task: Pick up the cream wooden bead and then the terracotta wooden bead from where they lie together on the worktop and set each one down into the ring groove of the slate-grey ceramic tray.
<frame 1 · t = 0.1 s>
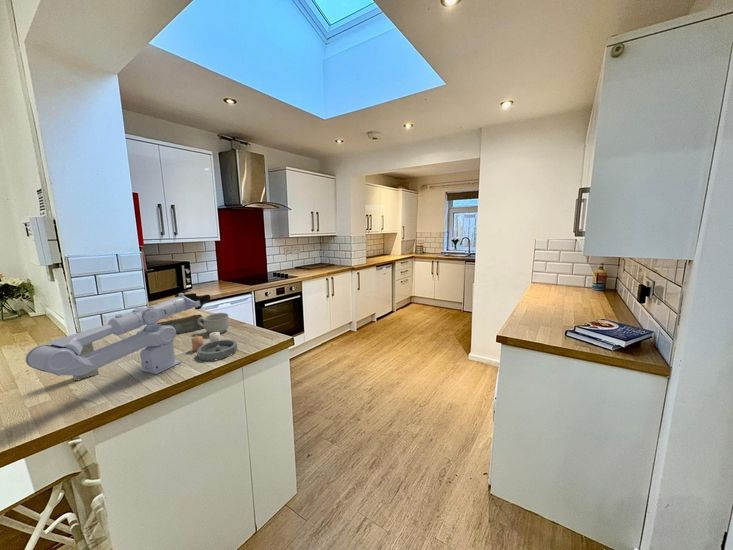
hand: (202, 296, 121), 22 cm above the counter, tool horizontal, fingers open, 7 cm apart
bead terracotta: (198, 349, 121), on the counter
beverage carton: (182, 332, 144), on the counter
bead cream: (215, 344, 125), on the counter
teacup: (214, 332, 141), on the counter
groove tray: (218, 352, 117), on the counter
skincare box: (86, 376, 101), on the counter
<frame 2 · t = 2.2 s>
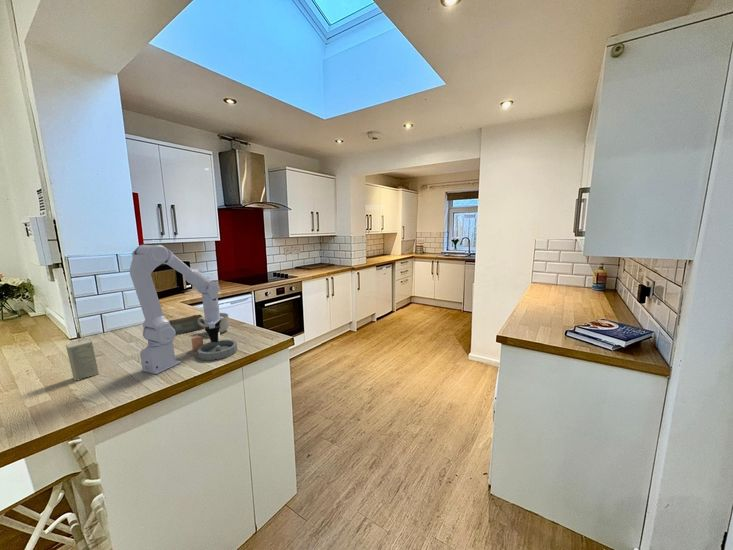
hand: (215, 339, 125), 2 cm above the counter, tool pointing down, fingers open, 7 cm apart
nothing on the counter moved.
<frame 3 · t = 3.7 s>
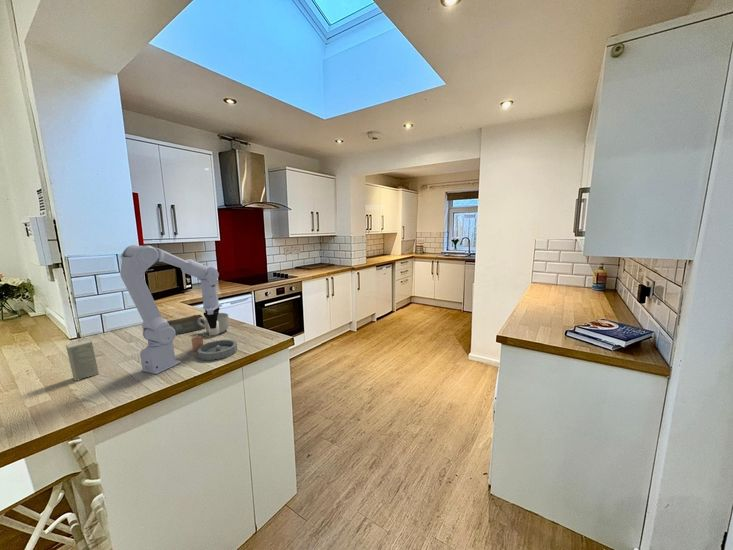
hand: (213, 326, 124), 8 cm above the counter, tool pointing down, fingers closed on bead cream, 4 cm apart
bead cream: (214, 333, 125), point 5 cm above the counter, touching gripper
everything else where it was.
when the fingers open (3 cm above the counter, at t = 5.8 s): bead cream stays where it is, resting on groove tray.
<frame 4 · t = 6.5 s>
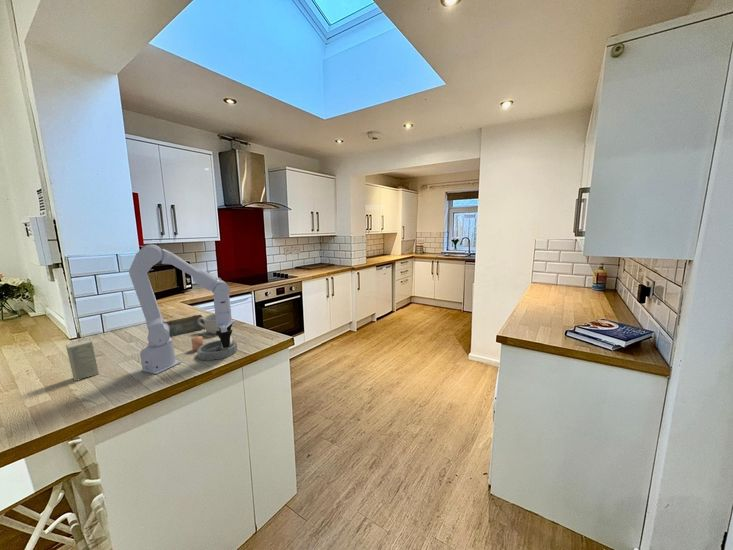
hand: (226, 343, 118), 3 cm above the counter, tool pointing down, fingers open, 7 cm apart
bead cream: (227, 349, 118), point 1 cm above the counter, touching groove tray
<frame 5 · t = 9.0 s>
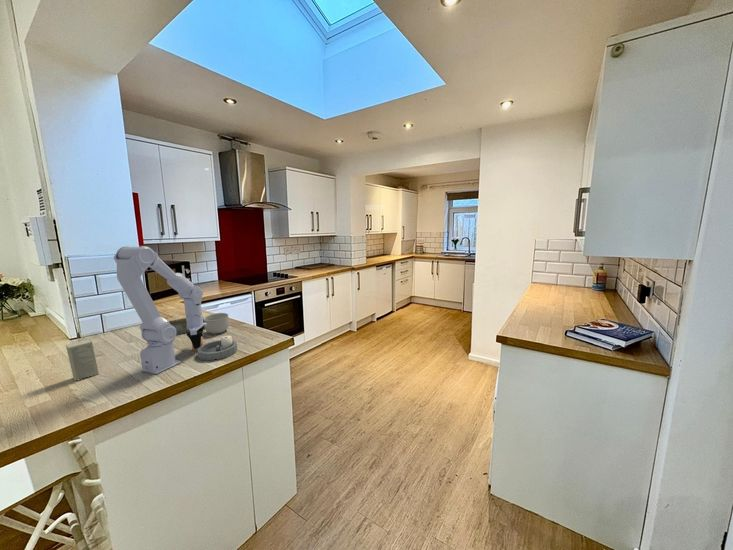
hand: (198, 346, 121), 1 cm above the counter, tool pointing down, fingers closed on bead terracotta, 4 cm apart
bead terracotta: (198, 349, 121), on the counter, touching gripper
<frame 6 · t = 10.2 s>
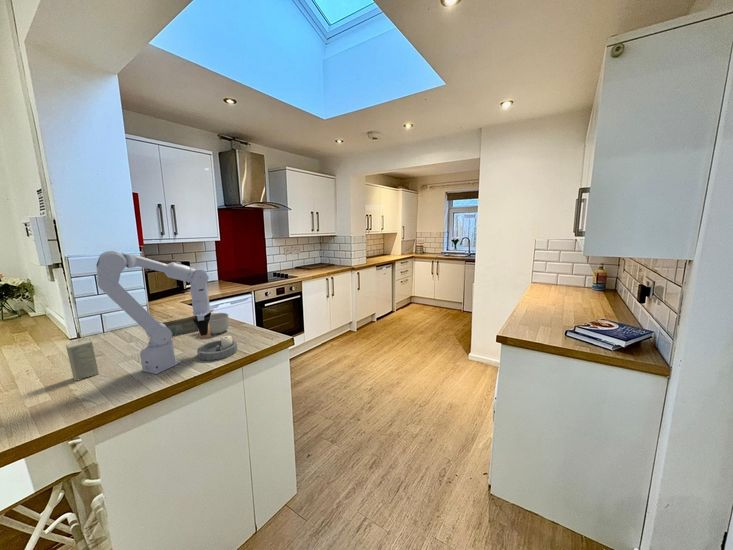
hand: (204, 333, 115), 8 cm above the counter, tool pointing down, fingers closed on bead terracotta, 4 cm apart
bead terracotta: (204, 336, 116), point 7 cm above the counter, touching gripper
when the fingers open (3 cm above the counter, at t = 11.8 s): bead terracotta stays where it is, resting on groove tray.
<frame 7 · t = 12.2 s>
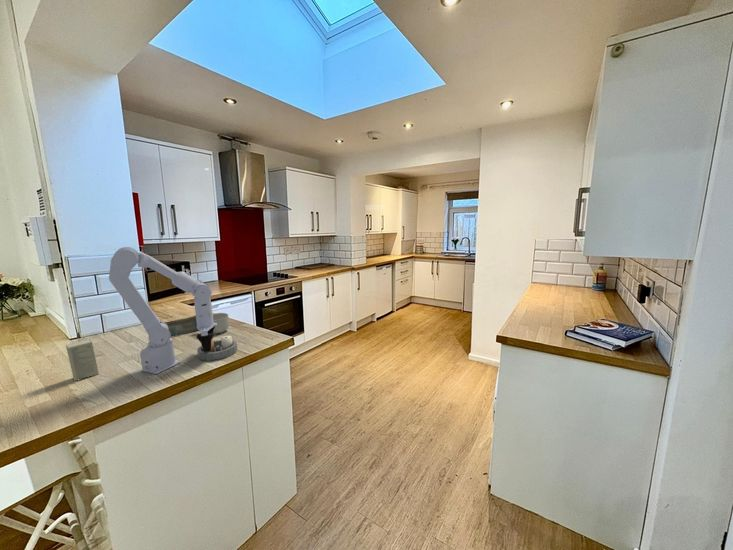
hand: (208, 347, 115), 3 cm above the counter, tool pointing down, fingers open, 7 cm apart
bead terracotta: (208, 352, 116), point 1 cm above the counter, touching groove tray
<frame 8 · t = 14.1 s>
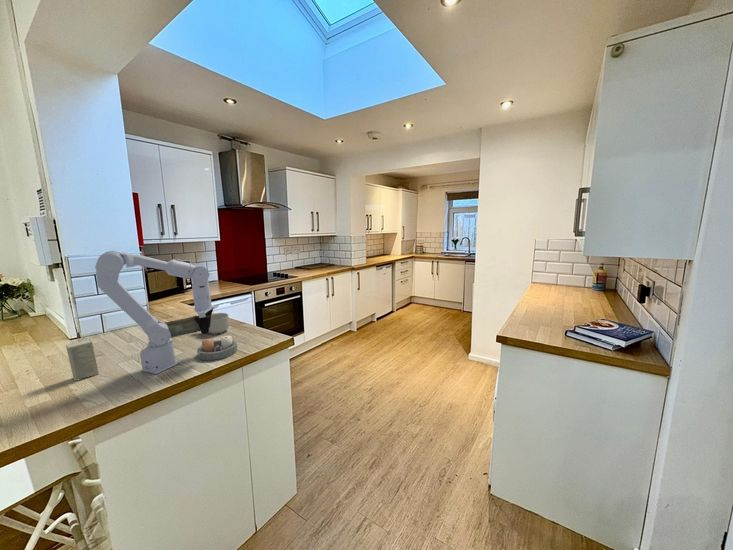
hand: (206, 330, 114), 10 cm above the counter, tool pointing down, fingers open, 7 cm apart
at the end: bead cream 0.1 cm from the target spot on the groove tray, point 0.8 cm above the groove tray's base; bead terracotta 0.1 cm from the target spot on the groove tray, point 0.8 cm above the groove tray's base; bead cream tilted 0° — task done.
